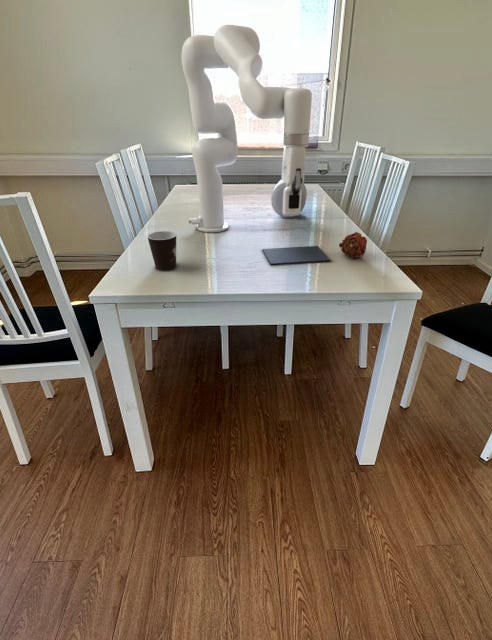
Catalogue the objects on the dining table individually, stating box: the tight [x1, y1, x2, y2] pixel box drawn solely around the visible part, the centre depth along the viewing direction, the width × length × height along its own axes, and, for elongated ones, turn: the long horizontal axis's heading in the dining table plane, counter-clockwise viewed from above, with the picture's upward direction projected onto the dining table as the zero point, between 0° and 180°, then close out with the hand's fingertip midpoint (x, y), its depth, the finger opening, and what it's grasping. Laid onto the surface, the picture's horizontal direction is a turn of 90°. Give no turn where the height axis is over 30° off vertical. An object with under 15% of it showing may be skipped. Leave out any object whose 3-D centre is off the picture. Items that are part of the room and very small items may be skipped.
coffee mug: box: [146, 230, 177, 272], centre depth 122 cm, size 12×9×10 cm
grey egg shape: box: [268, 178, 308, 219], centre depth 175 cm, size 19×15×25 cm
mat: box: [262, 245, 331, 266], centre depth 133 cm, size 20×14×1 cm
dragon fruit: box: [338, 231, 368, 260], centre depth 131 cm, size 8×8×12 cm
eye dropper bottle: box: [283, 182, 302, 217], centre depth 122 cm, size 4×6×12 cm
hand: (291, 206), depth 124 cm, fingers closed on eye dropper bottle, 3 cm apart
